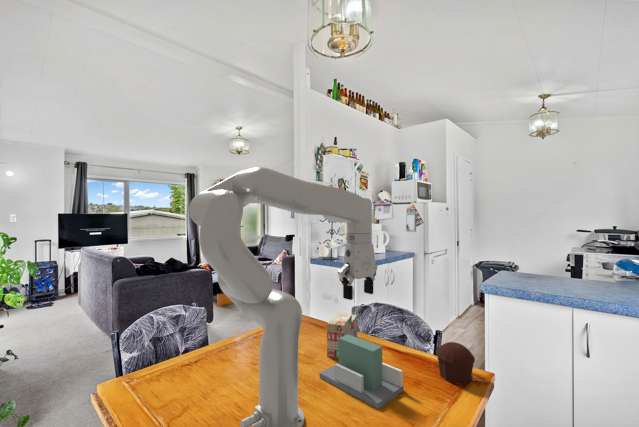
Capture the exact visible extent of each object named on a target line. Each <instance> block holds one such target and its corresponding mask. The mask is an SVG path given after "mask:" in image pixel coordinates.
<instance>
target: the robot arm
mask: <svg viewBox="0 0 639 427" xmlns="http://www.w3.org/2000/svg"><path fill="white" fill-rule="evenodd" d="M189 203H190V204H189V205H188V213H189V217H190V218H191V220H192V222H193V223H194V224H196V225H197V226H199V229H200V230H199V245H200V251H201V253H202V256H203V257H204V259H205V261H206V263H207V264H208V265H209V266H210V267H211V268H212V270H213V271H215V273H216V274H217V283H218V285H219V288H220V290H221V292H222V293H223V294H224V295H225V296H226V297H227V298H228V299H229V300H230V301H231V302H232V303H233V304H234V306H236V307H237V308H238V309H239V310H240V311H241V312H242V314H244V315H245V316H246V317H247V318H248V319H249V320H251V321H252V322H254V323H256V324H258V325H260V327H262V328H263V333H262V336H261V339H260V342H259V347H258V348H259V349H258V405H256V406H254V412H252V413H251V415H250V416H247V417H245V418H243V419H241V420H240V422H239V424H240V427H303V426H304V424H305V413H304V411H303V409H302V408H300V407H299V338H300V331H301V326H302V322H303V321H302V320H303V310H302V306H301V304H300V302H299V301H298V299H297V298H296V297H294V296H293V295H292V294H290V293H287V292H285V291H282V290H279V289H275V288H274V282H273V281H274V280H273V277H272V275H271V273H270V272H269V271H268V269H267V268H266V267H265V266H264V265H263V264H262V263H261V261H259V259H258V258H257V257H256V256H255V255H254V253H252V251H251V250H250V249H249V247H248V246H247V245H246V243H245V242H244V241H243V239H242V236H241V224H242V219H243V216H244V208H245V207H246V206H248V205H250V204H259V205H264V206H267V207H268V206H269V207H273V208H277V209H280V210H284V211H287V212H292V213H295V214H302V215H309V216H310V215H312V216H315V215H316V216H322V217H323V218H324V219H325V220H326V221H329V222H331V223H341V224H342V223H346V237H345V239H346V243H345V248H344V252H343V253H344V254H343V266H342V267H341V268H340V269H338V271H337V275H338V277H339V281H340V282H341V285H343V286H342V288H343V289H342V297H343V299H345V300H349V301H352V300H353V299H354V287H353V285H352V284H353V282H354V281H355V280H361V279H364V280H363V293H365V294H369V295H374V282H375V280H376V278H375V277H376V275H377V270H378V267H379V266H378V265H377V263H376V257H375V256H376V255H375V248H374V244H373V241H372V240H373V239H372V238H373V233H372V232H373V231H372V230H373V226H372V225H373V218H372V217H373V202H372V200H371V199H370V198H368V197H363V196H362V195H360V194H357V193H354V192H351V191H349V190H346V189H342V188H339V187H334V186H330V185H325V184H320V183H315V182H310V181H306V180H304V179H299V178H297V177H294V176H291V175H288V174H286V173H283V172H279V171H277V170H273V169H271V168H267V167H263V166H256V167H252V168H248V169H247V168H246V169H243V170H240V171H238V172H237V173H235V174H233V175H231V176H229V177H227V178H225V179H224V180H222V181H219V182H218V183H216V184H214V185H213V186H211V187H208V188H207V189H205V190H203V191H201V192H199V193H197V194H196V195H195V196H194V197H193V198H192V199H191V201H190V202H189Z"/></svg>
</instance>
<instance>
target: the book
mask: <svg viewBox="0 0 639 427" xmlns="http://www.w3.org/2000/svg"><path fill="white" fill-rule="evenodd" d="M382 362H383V346H381V345H378V344H375V343H373V342H370V341H367V340H365V339H362V338H360V337H358V336H357V337H354V336H351V335H349V334H348V335H345V336H343V337H340V338H339V358H338V364H339V365H342V366H344V367H346V368H348V369H350V370H352V371H354V372H357V373H359V374H361V375H363V386H364V387H366V388H368V389H370V390H372V391H373V390H375V389H376V388H378V387H379V386H381V385H382Z"/></svg>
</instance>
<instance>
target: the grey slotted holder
mask: <svg viewBox="0 0 639 427" xmlns="http://www.w3.org/2000/svg"><path fill="white" fill-rule="evenodd" d="M403 372H404V371H403V369H400V368H397V367H396V366H393V365H390V364H388V363H385V362H383V361H382V385H381V386H379V387H378V388H376V389H375V390H373V391H372V390H370V389H368V388H366V387H364V386H363V375H361V374H359V373H357V372H354V371H352V370H350V369H348V368H346V367H344V366H342V365H339V363H335V364H334V365H332V366H331V367H328V368H326V369H324V370H323V371H320V372H318V373H319V374H318V375H319V378H320V379H321V380H323V381H325V382H327V383H328V384H331V385H333V386H334V387H336V388H338V389H340V390H342V391H344V392H345V393H347V394H349V395H351V396H353V397H355V398H356V399H358V400H360V401H362V402H364V403H366V404H367V405H369V406H371V407H373V408H375V409H377V410H379V409H381V408H382V407H383V406H385V405H386V404H388V403H389V402H390V401H392V400H393V399H394V398H395V397H397V396H398V395H400V394H401V393H402V392H404V389H405V388H404V385H403V381H404V380H403V376H404V375H403Z"/></svg>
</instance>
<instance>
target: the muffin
mask: <svg viewBox="0 0 639 427" xmlns="http://www.w3.org/2000/svg"><path fill="white" fill-rule="evenodd" d="M435 355H436V357H437V361H438V368H439V375H440V377H441V378H442V379H444V381H446V382H449V383H453V385H454V384H455V385H456V384H457V385H466V384H468V383H470V382H471V380H472V374H473V368H474V364H475V360H476V357H475V356H474V355H473V354H472V352H471V351H470V350H469V348H467V347H466V346H465V345H464V344H462V343H458V342H455V341H450V342H449V341H448V342H446V343H443V344H441V345H440V346H439V347H438V349H436V351H435Z"/></svg>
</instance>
